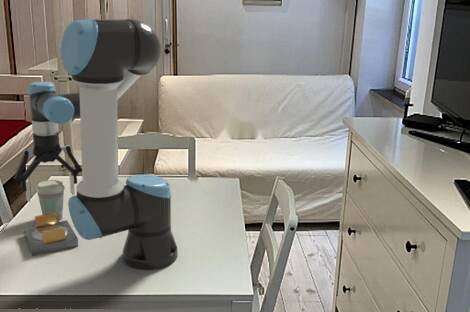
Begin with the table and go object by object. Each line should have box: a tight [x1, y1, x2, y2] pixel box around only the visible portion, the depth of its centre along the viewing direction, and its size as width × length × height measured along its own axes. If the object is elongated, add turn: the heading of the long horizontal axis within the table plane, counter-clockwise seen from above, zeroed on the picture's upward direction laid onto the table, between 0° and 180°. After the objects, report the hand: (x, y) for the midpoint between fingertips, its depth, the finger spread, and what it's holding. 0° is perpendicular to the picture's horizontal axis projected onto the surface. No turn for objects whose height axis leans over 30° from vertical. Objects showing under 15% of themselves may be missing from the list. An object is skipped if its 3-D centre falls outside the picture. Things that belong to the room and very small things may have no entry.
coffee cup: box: [36, 179, 65, 222], centre depth 166 cm, size 8×9×12 cm
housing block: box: [23, 213, 79, 256], centre depth 152 cm, size 14×13×6 cm
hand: (50, 196), depth 166 cm, fingers open, 13 cm apart
